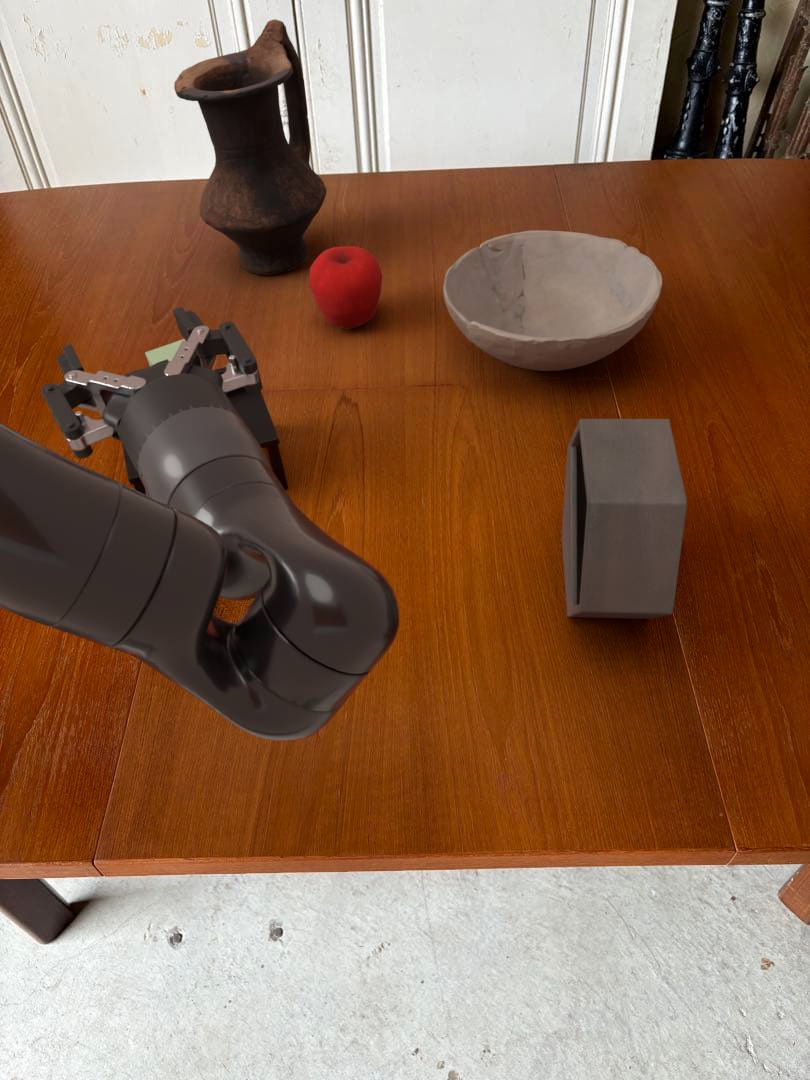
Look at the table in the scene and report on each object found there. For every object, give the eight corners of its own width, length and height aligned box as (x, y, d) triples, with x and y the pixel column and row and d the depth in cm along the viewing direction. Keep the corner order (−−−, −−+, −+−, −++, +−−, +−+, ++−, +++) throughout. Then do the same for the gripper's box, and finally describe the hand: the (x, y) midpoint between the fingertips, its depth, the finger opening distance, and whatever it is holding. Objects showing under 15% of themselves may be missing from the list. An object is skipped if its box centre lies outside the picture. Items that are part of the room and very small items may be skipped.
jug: (285, 304, 117) (242, 79, 95) (190, 274, 125) (128, 58, 102) (365, 237, 129) (344, 22, 106) (274, 213, 136) (235, 7, 113)
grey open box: (561, 459, 86) (587, 399, 66) (636, 459, 85) (685, 398, 65) (561, 619, 84) (588, 609, 63) (638, 621, 83) (689, 611, 63)
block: (183, 443, 87) (158, 375, 80) (169, 420, 90) (144, 352, 83) (223, 428, 88) (202, 359, 81) (208, 405, 91) (187, 337, 84)
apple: (337, 351, 109) (327, 278, 101) (303, 319, 115) (291, 247, 107) (399, 324, 112) (393, 252, 104) (363, 294, 118) (355, 223, 110)
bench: (150, 530, 89) (122, 465, 82) (137, 461, 97) (110, 396, 90) (290, 489, 92) (275, 423, 85) (267, 425, 100) (251, 360, 93)
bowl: (410, 327, 112) (406, 261, 104) (570, 271, 119) (577, 205, 111) (512, 437, 96) (516, 367, 88) (691, 364, 103) (708, 294, 95)
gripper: (290, 373, 51) (202, 262, 61) (66, 458, 47) (10, 324, 57) (308, 460, 57) (224, 346, 66) (109, 543, 53) (51, 408, 62)
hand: (126, 336), depth 62 cm, fingers open, 8 cm apart
